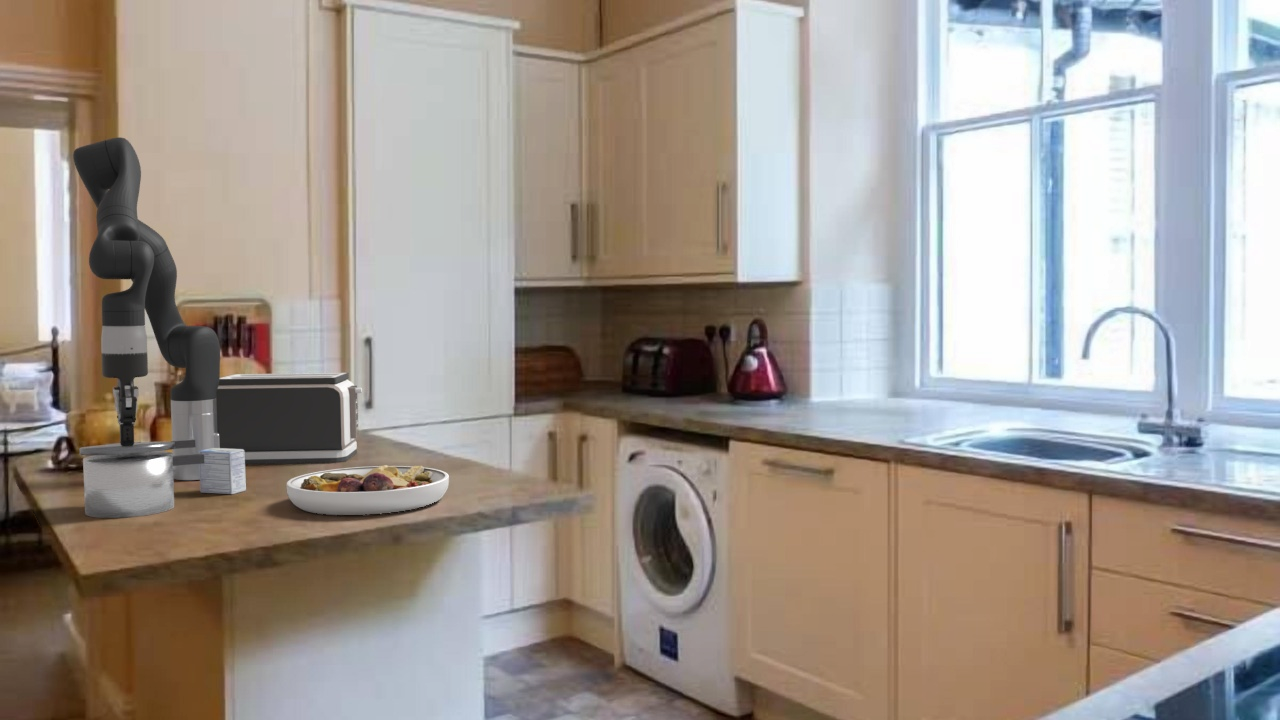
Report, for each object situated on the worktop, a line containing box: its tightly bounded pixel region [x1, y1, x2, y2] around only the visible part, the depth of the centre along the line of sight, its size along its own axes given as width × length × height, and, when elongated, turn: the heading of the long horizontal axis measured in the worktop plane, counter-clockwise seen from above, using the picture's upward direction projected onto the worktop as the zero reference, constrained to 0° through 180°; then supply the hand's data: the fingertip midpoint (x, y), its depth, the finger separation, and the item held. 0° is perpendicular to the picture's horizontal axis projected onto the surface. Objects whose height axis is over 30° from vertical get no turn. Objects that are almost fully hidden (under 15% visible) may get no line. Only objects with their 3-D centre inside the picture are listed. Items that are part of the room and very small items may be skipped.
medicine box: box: [199, 448, 247, 495], centre depth 217 cm, size 8×4×9 cm, turn 71°
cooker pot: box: [82, 450, 204, 519], centre depth 201 cm, size 20×17×10 cm
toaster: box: [216, 372, 363, 466], centre depth 262 cm, size 19×35×20 cm, turn 95°
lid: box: [79, 440, 196, 456], centre depth 200 cm, size 20×17×3 cm
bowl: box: [286, 464, 450, 516], centre depth 204 cm, size 30×30×8 cm
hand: (127, 445), depth 195 cm, fingers closed
